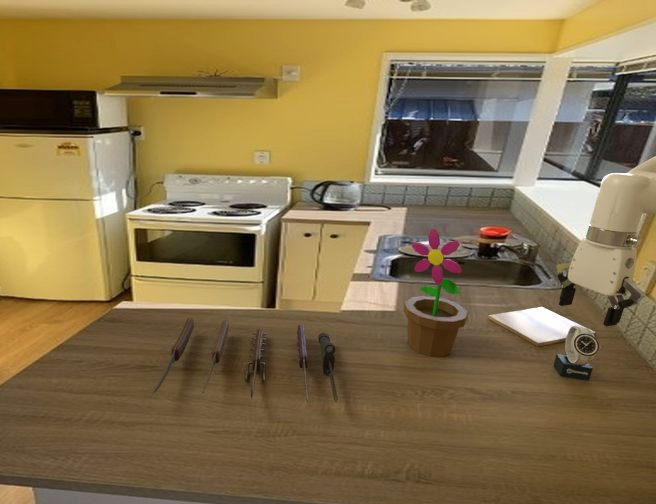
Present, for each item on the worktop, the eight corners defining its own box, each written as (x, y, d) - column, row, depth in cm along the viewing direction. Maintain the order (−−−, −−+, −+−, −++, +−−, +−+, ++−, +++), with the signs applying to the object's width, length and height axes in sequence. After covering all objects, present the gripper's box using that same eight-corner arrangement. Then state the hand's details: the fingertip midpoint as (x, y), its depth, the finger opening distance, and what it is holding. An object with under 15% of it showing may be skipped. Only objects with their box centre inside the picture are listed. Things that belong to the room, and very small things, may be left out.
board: (541, 310, 126) (541, 306, 125) (595, 335, 111) (596, 332, 111) (487, 318, 120) (488, 315, 119) (537, 346, 105) (538, 343, 105)
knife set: (148, 417, 76) (146, 379, 74) (188, 334, 107) (188, 306, 105) (344, 429, 75) (348, 391, 73) (326, 342, 107) (329, 314, 105)
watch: (563, 381, 91) (576, 336, 88) (550, 361, 99) (561, 319, 95) (593, 385, 90) (607, 340, 87) (577, 365, 97) (590, 322, 94)
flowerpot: (388, 343, 105) (402, 225, 95) (418, 326, 114) (434, 217, 104) (442, 369, 95) (465, 240, 85) (471, 347, 104) (494, 229, 94)
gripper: (672, 248, 78) (643, 331, 83) (581, 225, 93) (561, 296, 99) (645, 251, 75) (616, 336, 81) (556, 226, 91) (537, 299, 96)
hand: (586, 314), depth 90 cm, fingers open, 9 cm apart
